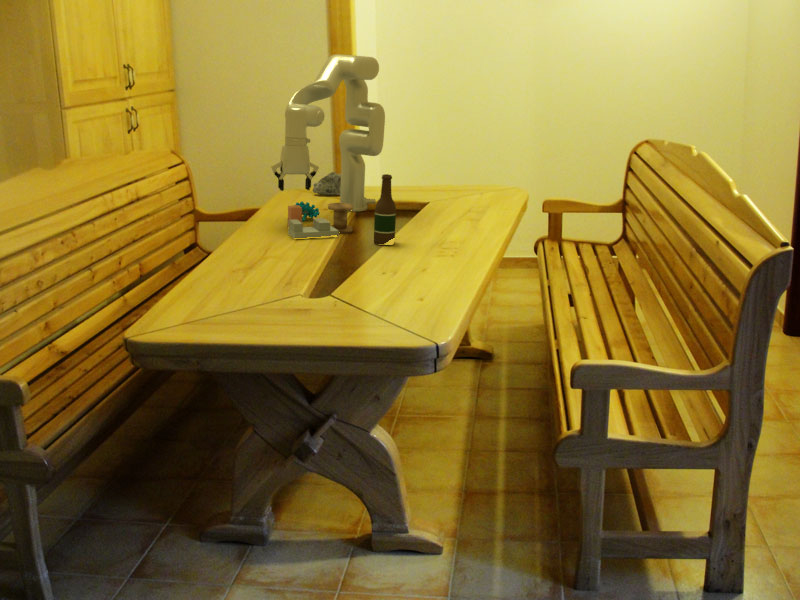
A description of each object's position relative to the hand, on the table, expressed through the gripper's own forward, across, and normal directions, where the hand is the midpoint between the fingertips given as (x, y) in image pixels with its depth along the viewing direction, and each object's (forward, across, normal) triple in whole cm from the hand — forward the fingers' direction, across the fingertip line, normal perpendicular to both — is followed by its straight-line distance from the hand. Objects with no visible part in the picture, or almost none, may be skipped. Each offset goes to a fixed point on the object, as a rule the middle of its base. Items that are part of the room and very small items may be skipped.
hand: (294, 189), depth 351 cm
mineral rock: (+13, -32, -56) cm, 67 cm away
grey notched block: (+14, -4, +13) cm, 19 cm away
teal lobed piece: (+14, -8, -13) cm, 21 cm away
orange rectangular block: (+14, 0, 0) cm, 14 cm away
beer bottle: (+14, -24, +28) cm, 40 cm away
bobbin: (+14, -16, +7) cm, 22 cm away
